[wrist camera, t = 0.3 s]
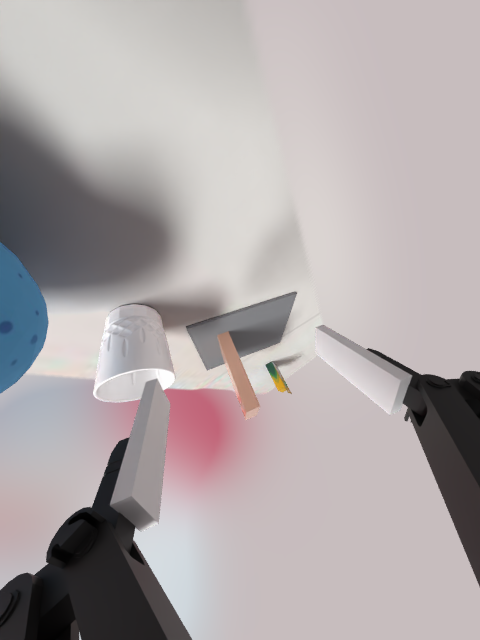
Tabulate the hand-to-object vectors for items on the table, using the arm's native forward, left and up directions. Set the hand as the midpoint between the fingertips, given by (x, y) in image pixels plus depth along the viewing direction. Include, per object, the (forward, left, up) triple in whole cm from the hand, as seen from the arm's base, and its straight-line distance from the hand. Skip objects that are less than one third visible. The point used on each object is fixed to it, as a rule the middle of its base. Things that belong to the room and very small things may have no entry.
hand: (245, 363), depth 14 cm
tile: (+22, +1, -14) cm, 26 cm away
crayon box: (+51, +17, -15) cm, 55 cm away
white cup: (+7, -11, -15) cm, 20 cm away
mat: (+22, +6, -14) cm, 27 cm away
